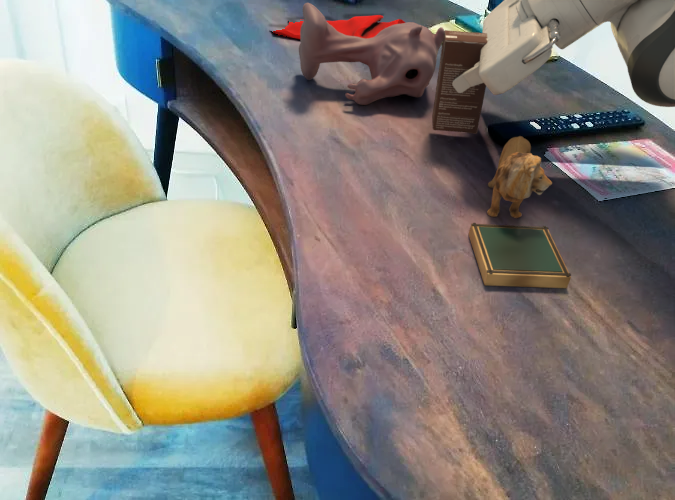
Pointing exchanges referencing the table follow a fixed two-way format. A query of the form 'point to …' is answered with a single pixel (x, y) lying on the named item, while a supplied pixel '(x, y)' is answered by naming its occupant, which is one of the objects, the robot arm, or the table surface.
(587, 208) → the table surface
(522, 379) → the table surface
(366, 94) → the dragon head
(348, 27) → the cloth
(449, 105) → the box
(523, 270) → the green gold display base
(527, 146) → the lion figurine
